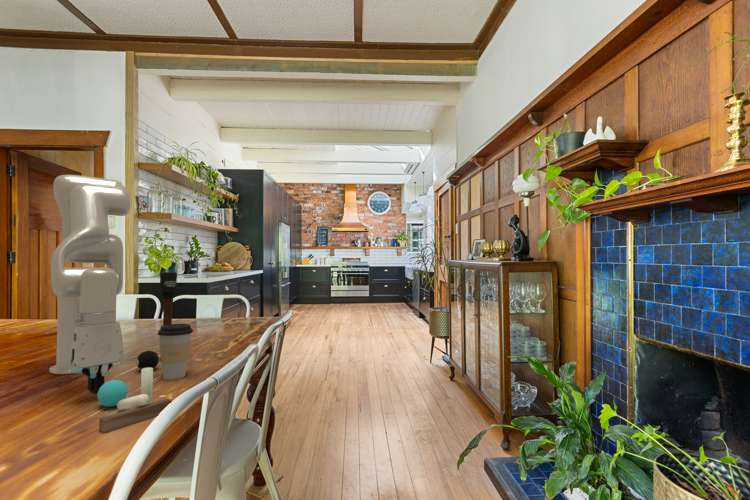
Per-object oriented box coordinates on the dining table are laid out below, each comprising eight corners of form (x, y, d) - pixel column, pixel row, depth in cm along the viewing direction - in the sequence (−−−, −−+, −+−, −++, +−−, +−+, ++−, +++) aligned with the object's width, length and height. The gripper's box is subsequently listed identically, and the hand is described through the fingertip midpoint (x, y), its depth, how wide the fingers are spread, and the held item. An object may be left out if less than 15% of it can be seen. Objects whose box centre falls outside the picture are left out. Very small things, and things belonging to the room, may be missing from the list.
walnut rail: (99, 430, 80) (99, 418, 80) (166, 409, 92) (166, 398, 92) (103, 433, 79) (104, 420, 79) (171, 410, 91) (171, 400, 91)
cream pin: (116, 400, 90) (137, 395, 86) (127, 398, 93) (148, 392, 88) (117, 411, 90) (138, 406, 86) (128, 408, 92) (149, 403, 88)
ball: (106, 394, 89) (100, 415, 90) (134, 387, 94) (128, 407, 95) (96, 378, 92) (90, 399, 93) (123, 372, 97) (118, 392, 98)
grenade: (157, 363, 131) (159, 272, 132) (156, 359, 136) (158, 272, 136) (176, 360, 134) (178, 272, 135) (174, 357, 139) (177, 272, 139)
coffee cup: (155, 383, 110) (157, 329, 110) (156, 374, 119) (158, 324, 119) (192, 379, 115) (194, 327, 115) (191, 370, 123) (192, 322, 123)
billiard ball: (161, 370, 123) (161, 351, 123) (139, 374, 118) (140, 354, 119) (154, 366, 127) (155, 347, 127) (133, 370, 123) (134, 350, 123)
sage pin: (138, 407, 93) (139, 369, 93) (148, 404, 95) (149, 366, 95) (143, 409, 91) (144, 370, 92) (154, 406, 93) (155, 368, 94)
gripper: (68, 324, 90) (66, 404, 90) (136, 316, 103) (135, 387, 103) (55, 320, 94) (53, 398, 94) (122, 313, 107) (120, 381, 107)
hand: (95, 392), depth 98 cm, fingers closed
